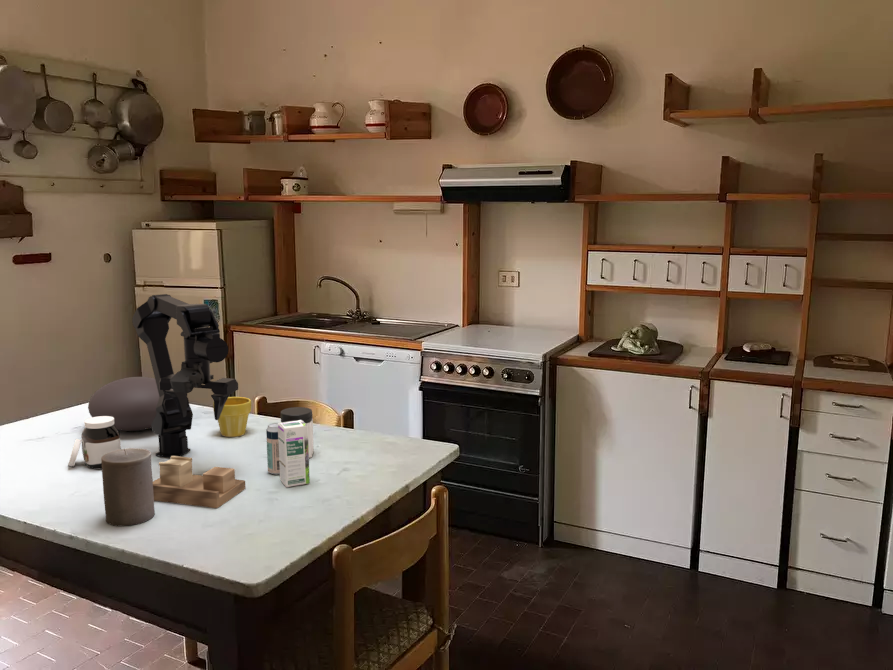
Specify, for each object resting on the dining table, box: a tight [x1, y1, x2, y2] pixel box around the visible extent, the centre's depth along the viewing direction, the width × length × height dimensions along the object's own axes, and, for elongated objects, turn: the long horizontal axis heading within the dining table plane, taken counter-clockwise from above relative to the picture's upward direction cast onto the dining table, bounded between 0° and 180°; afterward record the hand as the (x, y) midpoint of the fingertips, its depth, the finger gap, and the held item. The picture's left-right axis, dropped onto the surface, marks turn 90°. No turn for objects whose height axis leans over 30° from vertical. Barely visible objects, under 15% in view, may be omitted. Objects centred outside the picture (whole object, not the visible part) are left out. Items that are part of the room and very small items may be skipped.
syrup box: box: [277, 420, 311, 488], centre depth 179 cm, size 6×6×14 cm
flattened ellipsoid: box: [87, 376, 159, 432], centre depth 221 cm, size 25×25×15 cm
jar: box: [280, 406, 314, 459], centre depth 199 cm, size 9×8×12 cm
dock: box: [153, 474, 246, 509], centre depth 173 cm, size 20×12×4 cm, turn 75°
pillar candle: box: [101, 447, 155, 527], centre depth 159 cm, size 10×10×15 cm
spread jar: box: [67, 416, 122, 469], centre depth 191 cm, size 12×11×12 cm
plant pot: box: [212, 396, 252, 438], centre depth 217 cm, size 10×10×10 cm
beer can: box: [265, 422, 280, 476], centre depth 186 cm, size 5×5×12 cm
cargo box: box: [202, 466, 236, 493], centre depth 171 cm, size 5×5×4 cm
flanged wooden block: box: [158, 456, 194, 487], centre depth 173 cm, size 5×5×6 cm
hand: (200, 418), depth 187 cm, fingers open, 9 cm apart
